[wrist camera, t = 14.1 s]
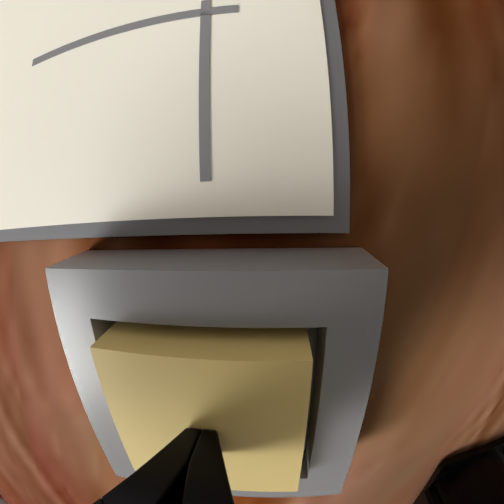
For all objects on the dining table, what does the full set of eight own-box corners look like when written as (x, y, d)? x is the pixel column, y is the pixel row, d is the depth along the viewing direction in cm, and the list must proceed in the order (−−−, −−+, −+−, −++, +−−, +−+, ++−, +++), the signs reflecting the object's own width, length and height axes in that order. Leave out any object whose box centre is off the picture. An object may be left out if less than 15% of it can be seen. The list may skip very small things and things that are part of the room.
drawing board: (300, -124, 5) (300, -131, 4) (346, 230, 9) (351, 234, 8) (3, -36, 6) (-3, -39, 6) (-41, 242, 10) (-50, 245, 10)
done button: (304, 318, 8) (313, 360, 6) (295, 446, 10) (297, 491, 7) (124, 313, 9) (89, 347, 7) (155, 436, 10) (137, 475, 8)
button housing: (361, 247, 9) (388, 269, 7) (333, 452, 11) (340, 493, 9) (87, 250, 10) (45, 268, 7) (134, 440, 12) (116, 475, 9)
